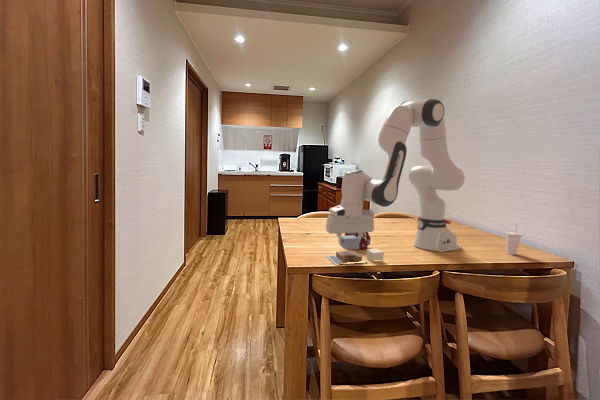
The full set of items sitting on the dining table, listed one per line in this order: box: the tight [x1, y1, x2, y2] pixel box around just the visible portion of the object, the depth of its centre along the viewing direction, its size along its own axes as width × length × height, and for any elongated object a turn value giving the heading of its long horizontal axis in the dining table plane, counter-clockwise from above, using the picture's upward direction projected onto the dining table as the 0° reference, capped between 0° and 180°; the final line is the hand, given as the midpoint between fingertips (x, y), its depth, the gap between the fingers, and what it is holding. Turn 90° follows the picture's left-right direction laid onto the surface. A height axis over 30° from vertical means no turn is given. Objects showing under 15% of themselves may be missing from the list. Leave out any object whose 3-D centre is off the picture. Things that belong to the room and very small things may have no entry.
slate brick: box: [339, 235, 360, 251], centre depth 132 cm, size 6×6×4 cm
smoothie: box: [505, 224, 523, 256], centre depth 147 cm, size 6×6×14 cm
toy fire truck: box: [344, 232, 371, 251], centre depth 149 cm, size 7×12×10 cm, turn 90°
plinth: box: [335, 250, 363, 263], centre depth 133 cm, size 8×8×2 cm
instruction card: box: [325, 254, 344, 265], centre depth 133 cm, size 14×11×1 cm
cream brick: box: [365, 247, 385, 262], centre depth 134 cm, size 5×5×4 cm
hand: (349, 242), depth 132 cm, fingers closed on slate brick, 6 cm apart
